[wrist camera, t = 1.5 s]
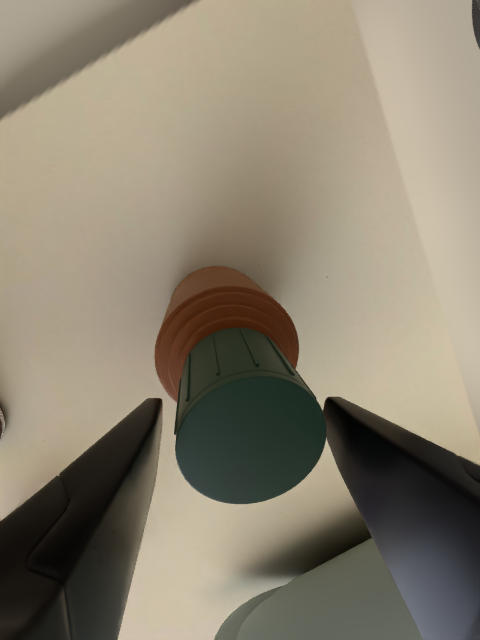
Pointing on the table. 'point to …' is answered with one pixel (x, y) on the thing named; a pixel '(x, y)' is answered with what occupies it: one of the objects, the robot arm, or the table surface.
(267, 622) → the grey bowl
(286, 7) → the table surface
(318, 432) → the cap
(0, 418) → the supplement bottle
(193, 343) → the bottle
